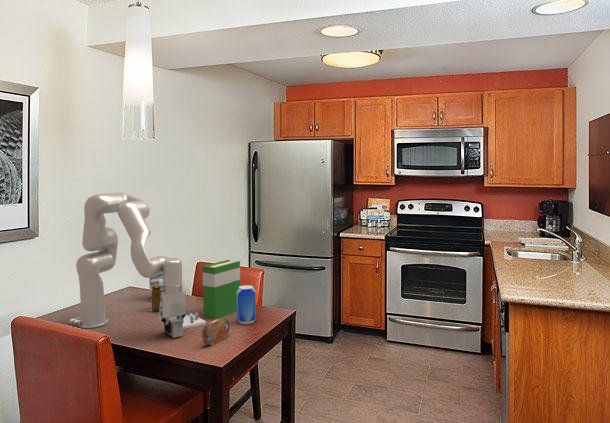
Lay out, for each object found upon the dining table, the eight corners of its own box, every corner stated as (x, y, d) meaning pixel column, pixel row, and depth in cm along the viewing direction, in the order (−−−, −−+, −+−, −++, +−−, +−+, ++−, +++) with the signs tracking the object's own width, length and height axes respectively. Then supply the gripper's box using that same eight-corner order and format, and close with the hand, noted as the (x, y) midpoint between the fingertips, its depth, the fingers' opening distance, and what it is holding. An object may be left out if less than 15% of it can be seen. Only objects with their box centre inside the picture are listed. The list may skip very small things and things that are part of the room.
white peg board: (182, 329, 201) (182, 319, 200) (165, 318, 214) (165, 310, 214) (205, 323, 208) (205, 314, 207) (187, 314, 221) (187, 305, 221)
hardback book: (229, 307, 232) (228, 259, 230) (240, 309, 229) (239, 261, 226) (203, 316, 218) (202, 266, 215) (215, 319, 214) (214, 267, 211)
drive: (173, 337, 189) (173, 322, 188) (163, 330, 197) (163, 316, 196) (182, 335, 192) (182, 320, 191) (172, 328, 199) (172, 314, 199)
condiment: (162, 307, 232) (161, 283, 231) (169, 311, 226) (168, 287, 225) (148, 310, 228) (147, 286, 227) (154, 314, 221) (154, 289, 220)
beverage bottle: (170, 299, 246) (168, 261, 244) (157, 303, 239) (156, 264, 237) (159, 296, 251) (157, 260, 249) (146, 300, 244) (144, 262, 242)
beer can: (238, 325, 205) (237, 290, 204) (236, 319, 213) (235, 285, 212) (257, 323, 208) (256, 288, 206) (254, 318, 216) (253, 284, 214)
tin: (207, 348, 180) (206, 327, 179) (200, 346, 181) (200, 325, 181) (230, 335, 193) (229, 315, 193) (224, 334, 195) (223, 314, 194)
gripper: (156, 293, 184) (156, 338, 186) (195, 287, 195) (195, 329, 197) (149, 289, 190) (149, 333, 192) (187, 283, 200) (187, 325, 202)
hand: (173, 331), depth 194 cm, fingers closed on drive, 4 cm apart
